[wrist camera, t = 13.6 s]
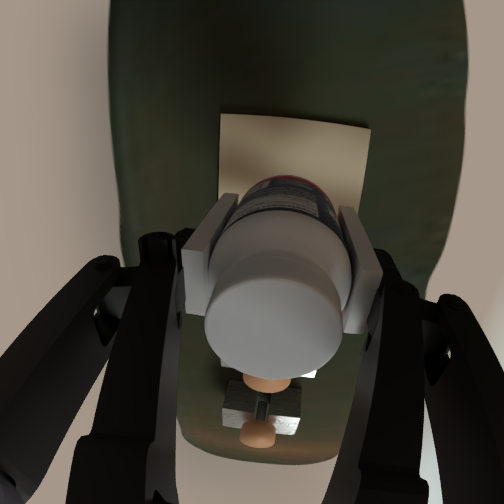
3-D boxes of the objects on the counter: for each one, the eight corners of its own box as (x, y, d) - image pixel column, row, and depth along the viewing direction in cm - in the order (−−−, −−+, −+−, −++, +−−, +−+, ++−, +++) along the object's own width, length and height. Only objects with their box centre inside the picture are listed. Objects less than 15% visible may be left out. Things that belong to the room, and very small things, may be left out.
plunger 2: (247, 392, 30) (239, 430, 26) (280, 396, 30) (276, 435, 26) (246, 409, 32) (239, 445, 28) (277, 413, 32) (272, 449, 27)
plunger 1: (253, 316, 25) (243, 360, 21) (296, 322, 25) (294, 366, 20) (251, 346, 27) (242, 389, 23) (290, 351, 27) (287, 395, 22)
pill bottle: (331, 265, 17) (348, 395, 9) (240, 263, 18) (198, 386, 10) (338, 173, 15) (381, 259, 7) (234, 172, 15) (167, 252, 8)
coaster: (222, 113, 19) (220, 113, 19) (369, 129, 18) (370, 129, 18) (219, 244, 24) (218, 246, 24) (346, 259, 23) (347, 261, 23)
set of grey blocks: (230, 302, 26) (220, 333, 23) (322, 313, 26) (323, 345, 22) (229, 398, 34) (223, 425, 30) (296, 407, 33) (294, 434, 29)
